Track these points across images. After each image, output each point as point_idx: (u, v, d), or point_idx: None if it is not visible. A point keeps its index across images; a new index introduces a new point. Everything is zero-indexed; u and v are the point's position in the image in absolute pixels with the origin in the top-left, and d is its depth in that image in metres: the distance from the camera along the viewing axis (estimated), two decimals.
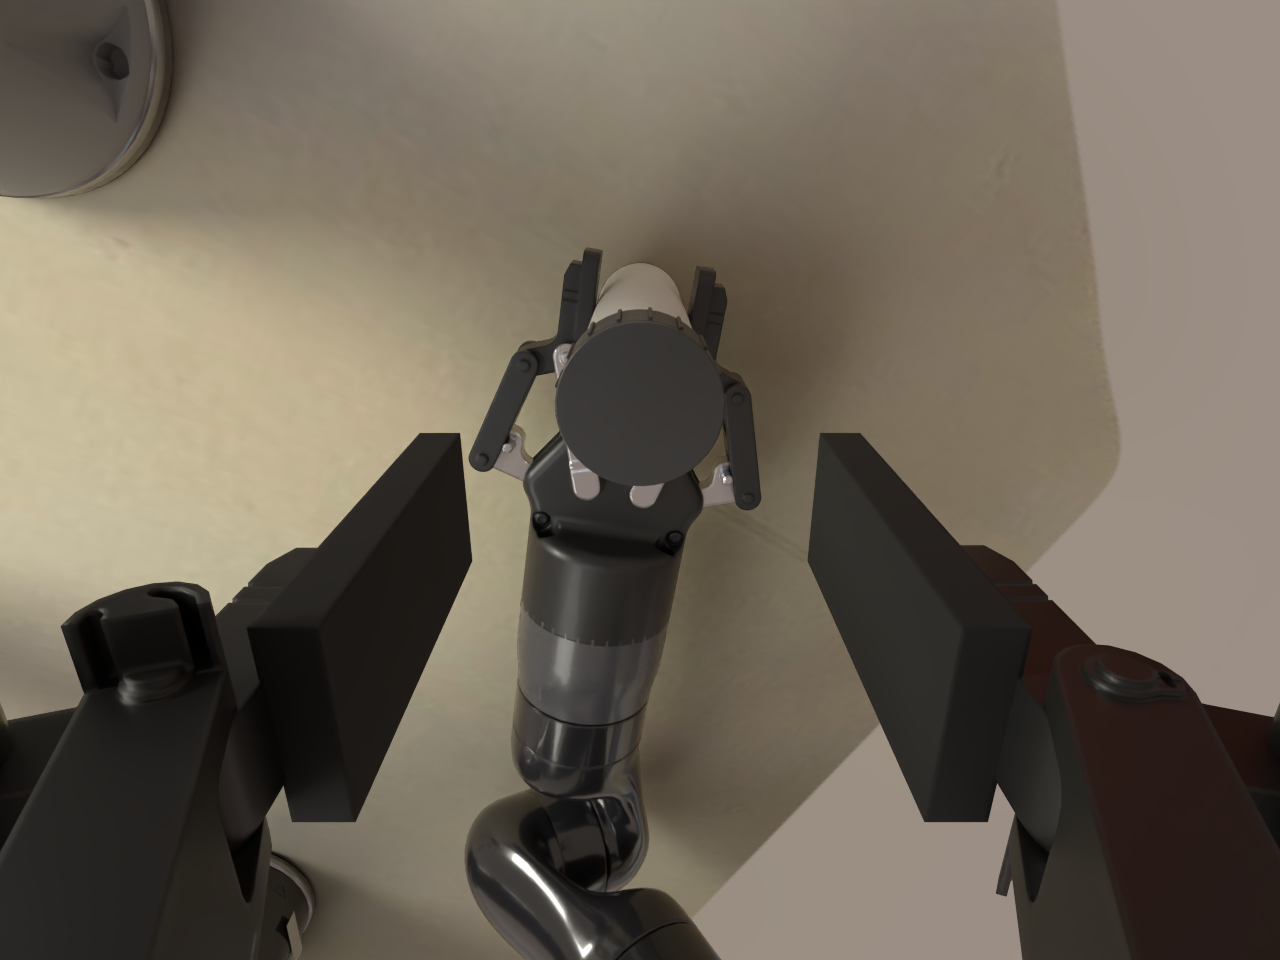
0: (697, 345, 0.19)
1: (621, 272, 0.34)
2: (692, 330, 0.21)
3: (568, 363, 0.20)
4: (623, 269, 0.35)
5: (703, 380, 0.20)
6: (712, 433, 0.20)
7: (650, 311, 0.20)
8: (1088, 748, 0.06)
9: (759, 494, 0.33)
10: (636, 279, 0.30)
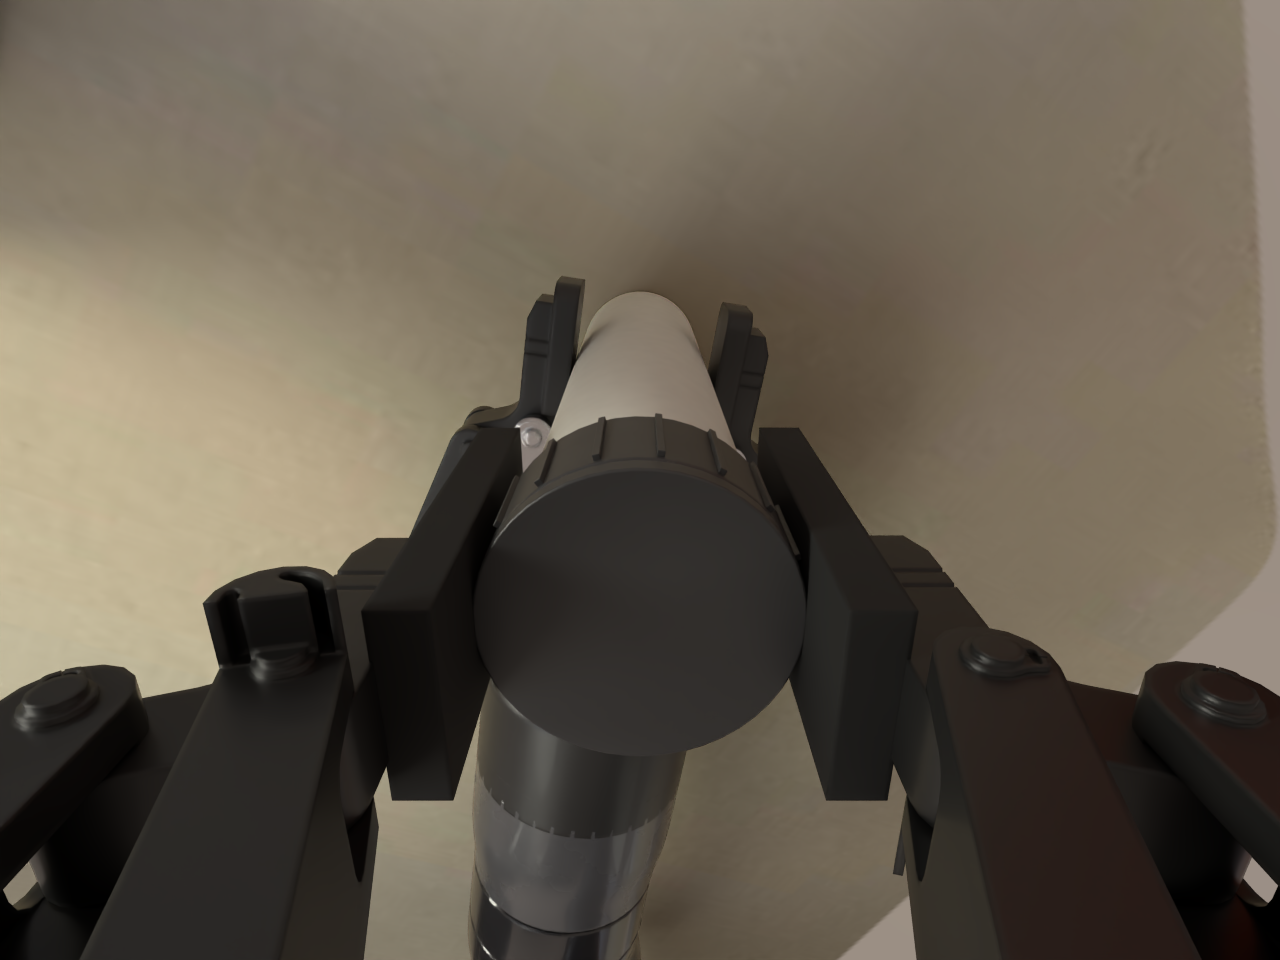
0: (757, 511, 0.09)
1: (613, 307, 0.24)
2: (737, 456, 0.11)
3: (495, 544, 0.10)
4: (616, 301, 0.25)
5: (767, 576, 0.10)
6: (781, 669, 0.10)
7: (660, 428, 0.11)
8: (962, 729, 0.06)
9: None
10: (634, 324, 0.20)
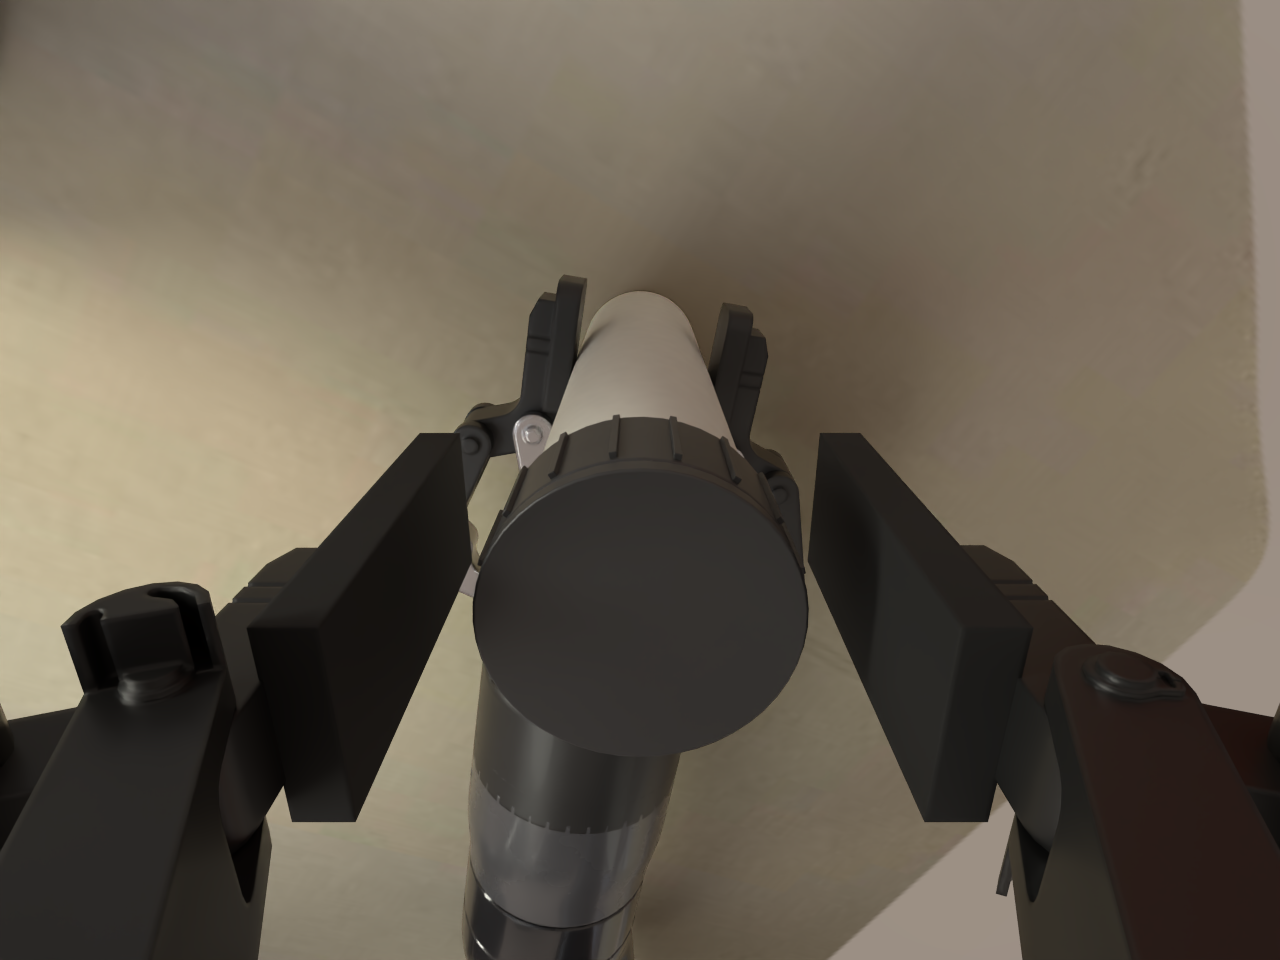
0: (530, 506, 0.09)
1: (614, 306, 0.25)
2: (547, 452, 0.11)
3: (533, 722, 0.11)
4: (617, 301, 0.25)
5: (605, 505, 0.09)
6: (723, 505, 0.09)
7: (490, 533, 0.11)
8: (1088, 748, 0.06)
9: None
10: (635, 323, 0.20)
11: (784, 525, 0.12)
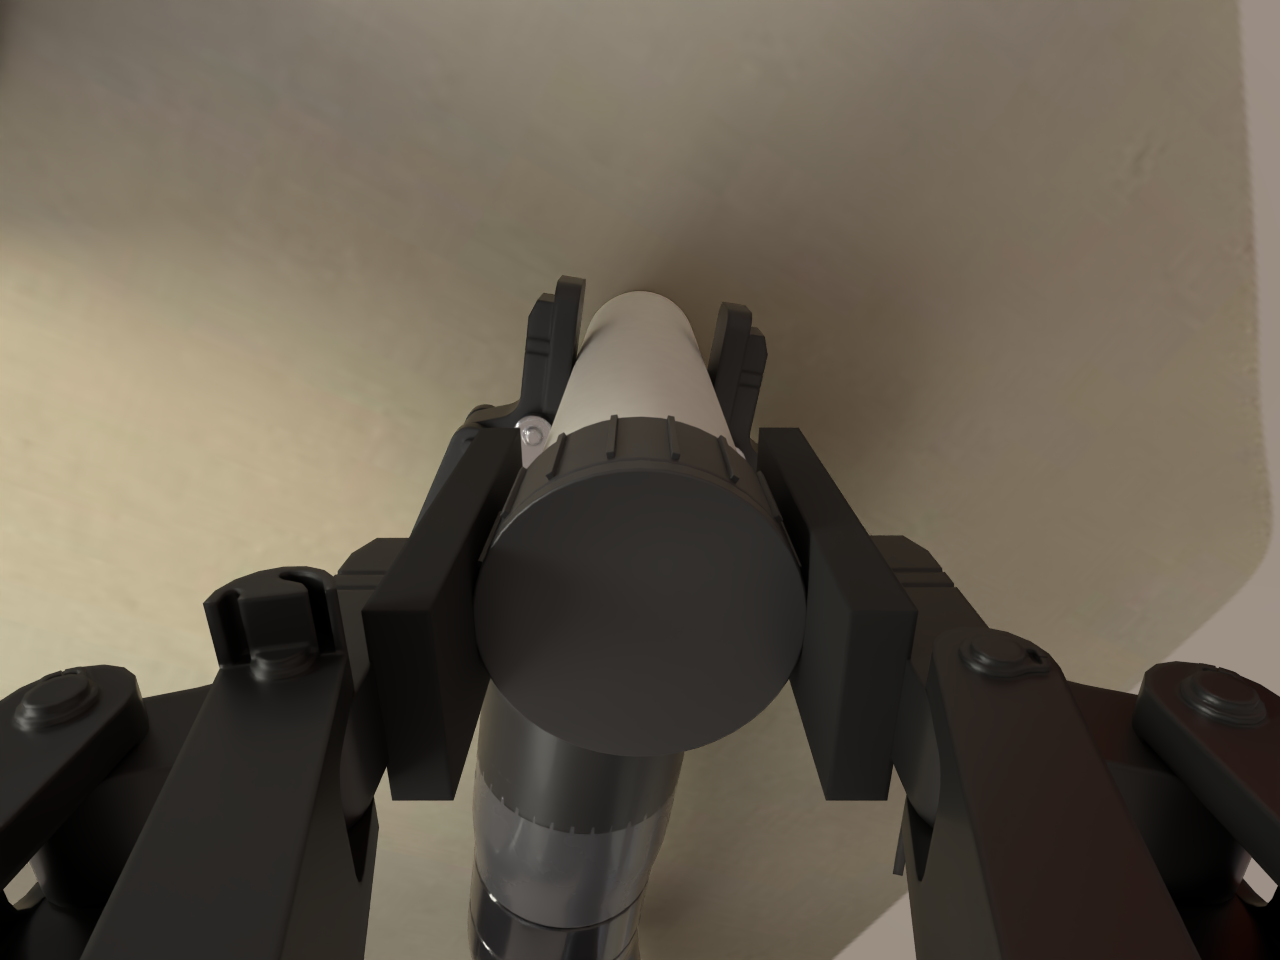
0: (528, 507, 0.09)
1: (614, 306, 0.25)
2: (545, 453, 0.11)
3: (534, 722, 0.11)
4: (617, 301, 0.26)
5: (603, 505, 0.09)
6: (721, 504, 0.09)
7: (489, 534, 0.11)
8: (962, 729, 0.06)
9: None
10: (634, 323, 0.20)
11: (783, 523, 0.12)
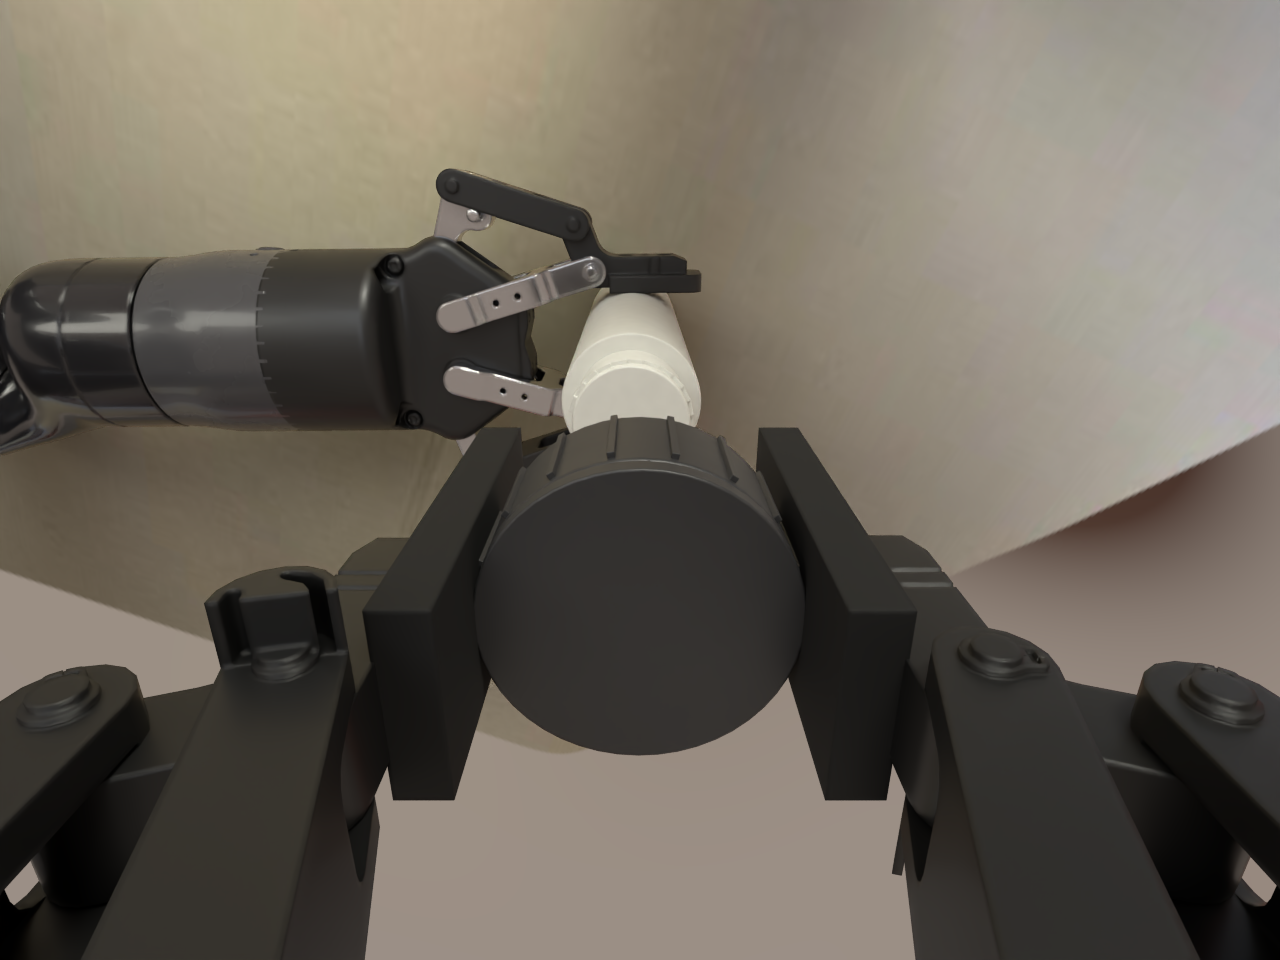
0: (529, 507, 0.09)
1: (669, 300, 0.34)
2: (546, 453, 0.11)
3: (534, 721, 0.11)
4: (669, 298, 0.35)
5: (603, 505, 0.09)
6: (721, 504, 0.09)
7: None
8: (960, 728, 0.06)
9: None
10: None
11: None
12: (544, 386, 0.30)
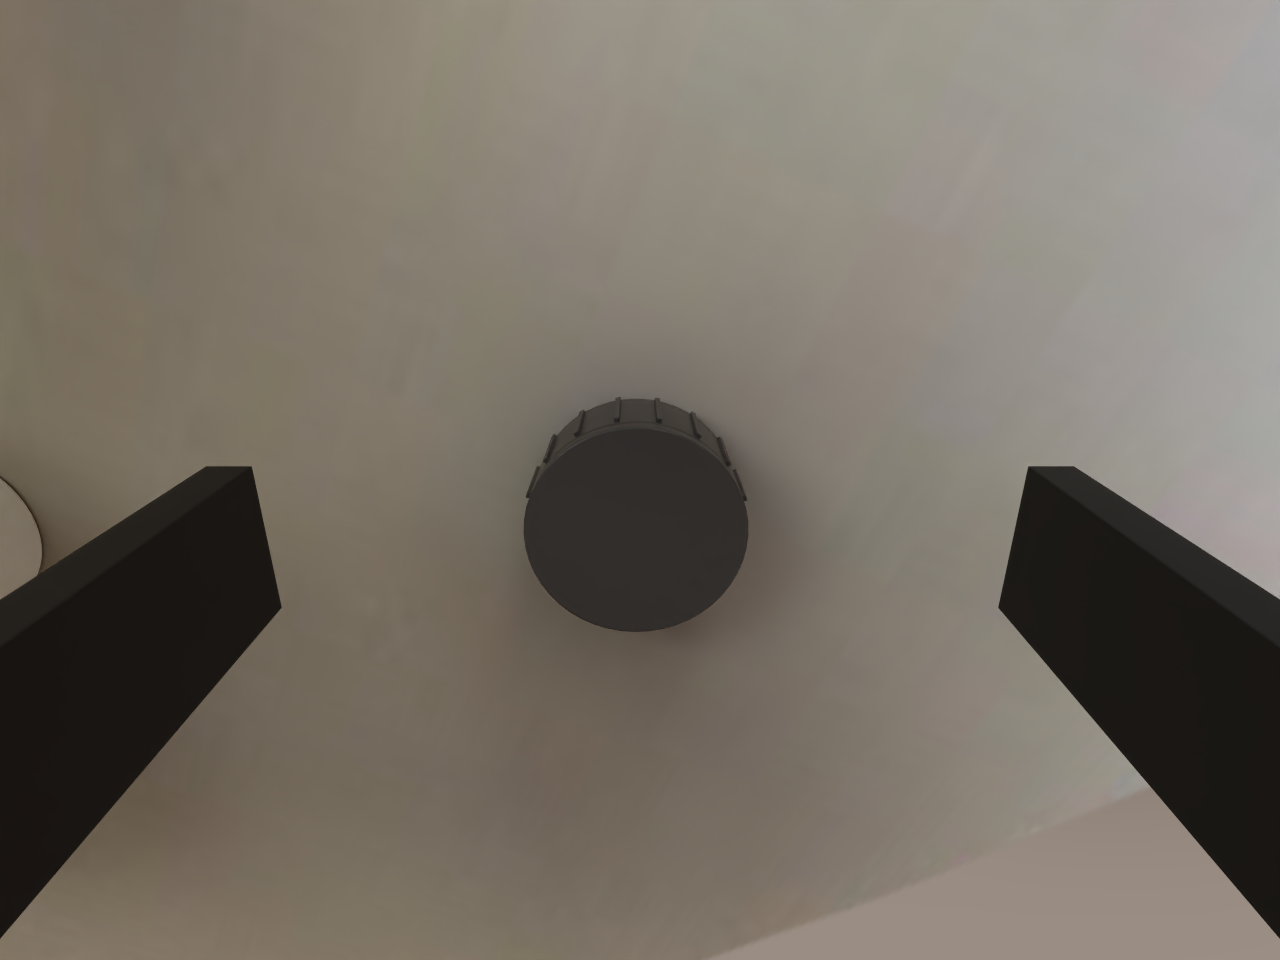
0: (563, 453, 0.14)
1: None
2: (571, 424, 0.16)
3: (563, 606, 0.16)
4: None
5: (612, 451, 0.14)
6: (689, 450, 0.14)
7: (532, 479, 0.16)
8: None
9: None
10: None
11: (736, 474, 0.17)
12: None
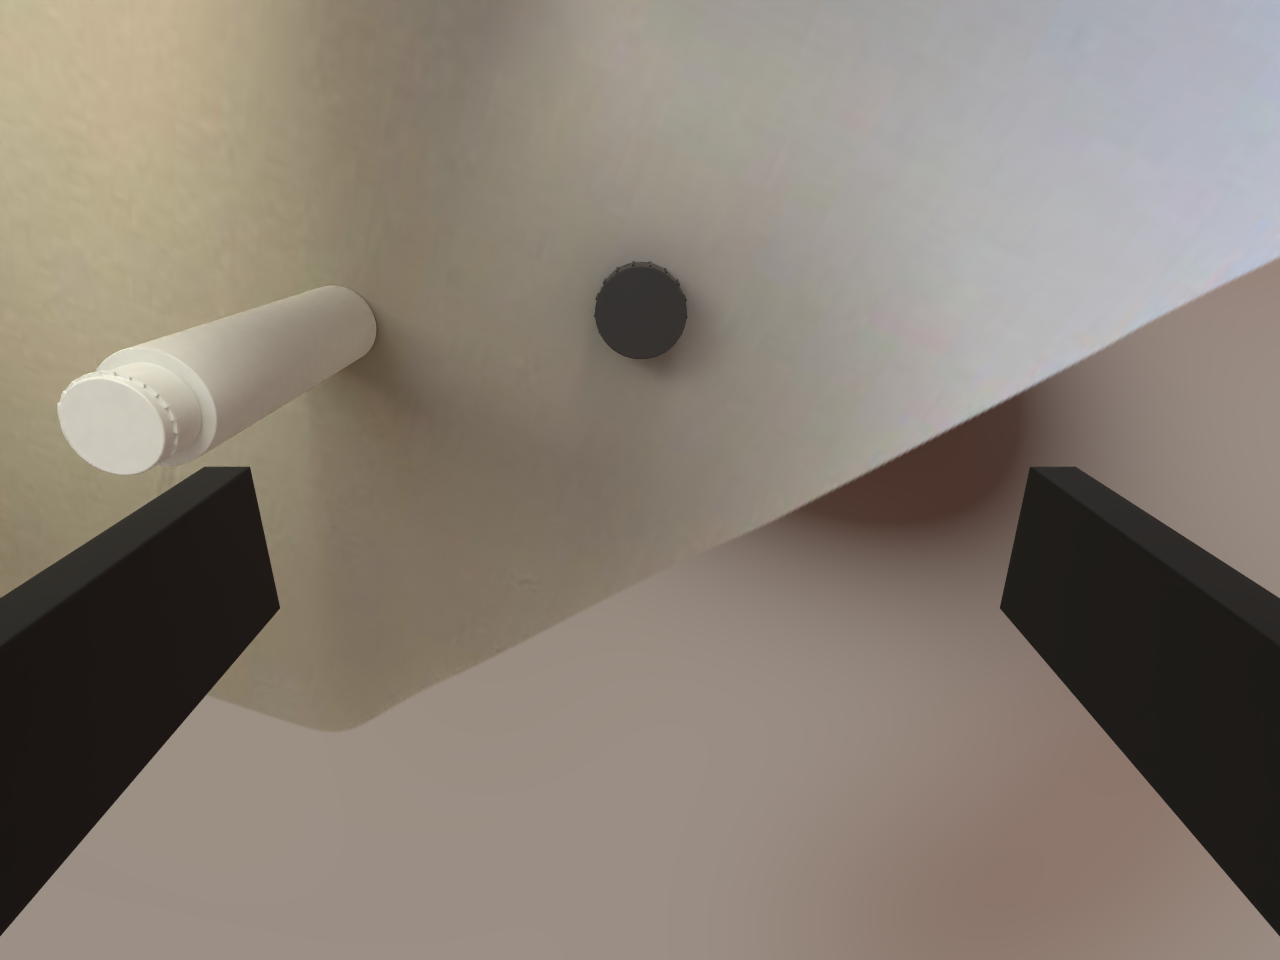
0: (612, 277, 0.36)
1: (349, 309, 0.37)
2: (613, 272, 0.38)
3: (610, 346, 0.38)
4: (357, 308, 0.38)
5: (631, 277, 0.36)
6: (661, 276, 0.36)
7: None
8: None
9: None
10: (322, 340, 0.33)
11: (684, 295, 0.39)
12: None
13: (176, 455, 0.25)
